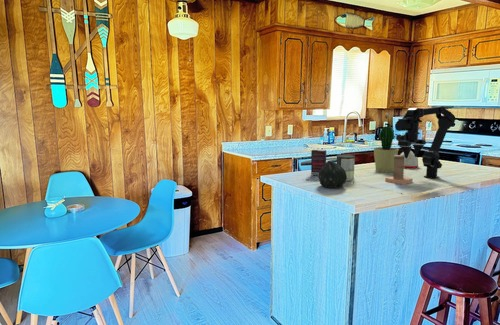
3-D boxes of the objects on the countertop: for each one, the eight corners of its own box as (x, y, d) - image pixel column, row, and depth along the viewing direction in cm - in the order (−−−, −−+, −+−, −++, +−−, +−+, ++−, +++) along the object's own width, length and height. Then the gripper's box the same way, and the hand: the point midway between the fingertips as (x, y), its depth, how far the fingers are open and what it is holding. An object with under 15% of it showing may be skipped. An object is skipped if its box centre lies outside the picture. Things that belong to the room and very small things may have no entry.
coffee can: (332, 179, 203) (333, 155, 201) (341, 176, 210) (342, 154, 208) (348, 182, 196) (349, 157, 194) (357, 179, 203) (358, 155, 201)
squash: (350, 174, 189) (332, 154, 189) (352, 181, 175) (333, 159, 175) (330, 190, 193) (312, 170, 193) (330, 198, 179) (311, 176, 179)
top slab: (396, 179, 197) (396, 175, 196) (412, 182, 189) (412, 178, 188) (385, 181, 191) (385, 177, 191) (401, 184, 183) (401, 180, 183)
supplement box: (326, 175, 216) (326, 150, 214) (324, 176, 212) (325, 150, 209) (312, 174, 220) (313, 149, 217) (310, 175, 215) (311, 150, 213)
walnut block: (393, 177, 193) (394, 155, 191) (403, 177, 191) (404, 155, 189) (393, 178, 188) (394, 156, 186) (403, 179, 186) (404, 156, 184)
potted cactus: (400, 170, 230) (403, 125, 225) (392, 173, 219) (395, 126, 214) (377, 167, 240) (380, 124, 235) (368, 170, 229) (371, 125, 224)
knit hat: (399, 168, 237) (400, 146, 235) (394, 165, 251) (395, 144, 248) (420, 168, 235) (422, 147, 232) (414, 165, 248) (416, 144, 246)
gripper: (409, 129, 208) (407, 154, 210) (390, 130, 198) (388, 157, 200) (427, 130, 199) (425, 156, 201) (408, 131, 189) (406, 159, 191)
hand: (410, 157), depth 199 cm, fingers open, 9 cm apart
